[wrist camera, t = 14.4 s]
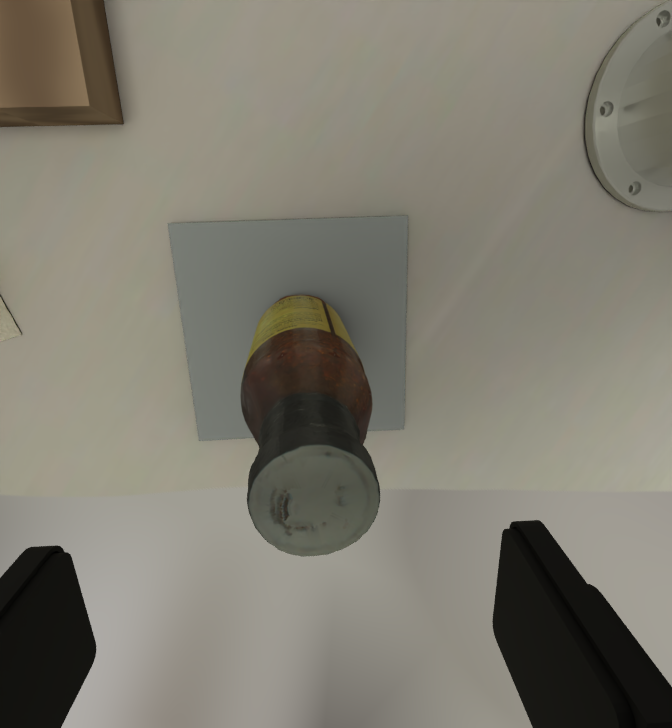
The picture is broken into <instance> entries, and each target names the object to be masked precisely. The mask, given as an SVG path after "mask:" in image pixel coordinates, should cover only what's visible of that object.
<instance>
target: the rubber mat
mask: <svg viewBox="0 0 672 728" xmlns="http://www.w3.org/2000/svg"><path fill="white" fill-rule="evenodd" d="M168 229H169V236H170V243H171V250H172V257H173V264H174V271H175V278H176V285H177V292H178V299H179V306H180V313H181V319H182V326H183V333H184V340H185V347H186V354H187V361H188V368H189V375H190V382H191V389H192V396H193V402H194V409H195V416H196V423H197V430H198V437H199V441H208V440H226V439H243V438H254V437H253V435H252V433H251V432H250V430H249V428H248V426H247V424H246V422H245V420H244V416H243V413H242V408H241V397H240V393H241V382H242V377H243V373H244V369H245V366H246V362H247V359H248V356H249V352H250V349H251V345H252V342H253V338H254V335H255V332H256V328H257V325H258V323H259V321H260V319H261V317H262V316H263V314H264V313H265V312H266V310H267V309H269V308H270V307H271V306H272V305H273V304H274V303H275V302H277V301H278V300H279V299H281V298H283V297H285V296H291V295H301V294H304V295H311V296H315V297H318V298H320V299H322V300H323V301H324V302H325V303H327V304H328V305H330V306H331V307H332V308H333V309H334V310H335V311H336V313H337V314H338V315H339V317H340V318H341V320H342V322H343V325H344V327H345V329H346V331H347V333H348V335H349V337H350V339H351V341H352V343H353V345H354V347H355V349H356V351H357V353H358V355H359V358H360V360H361V362H362V364H363V367H364V371H365V375H366V377H367V379H368V382H369V386H370V389H371V392H372V403H373V405H372V414H371V418H370V422H369V426H368V430H367V431H382V430H400V429H404V410H405V355H406V301H407V246H408V216H379V217H349V218H319V219H289V220H259V221H229V222H199V223H169V224H168Z"/></svg>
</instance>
